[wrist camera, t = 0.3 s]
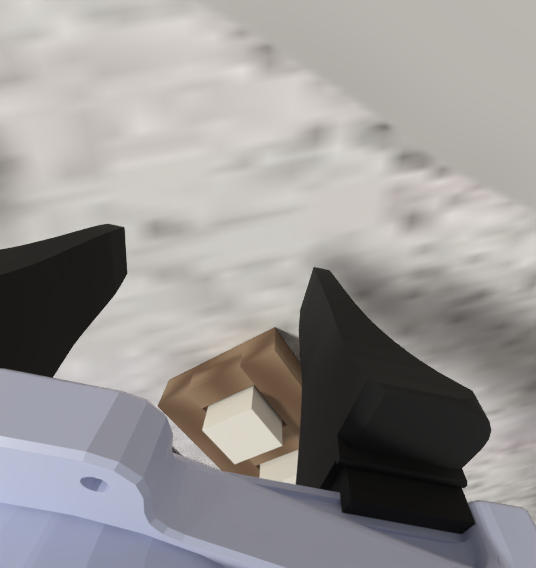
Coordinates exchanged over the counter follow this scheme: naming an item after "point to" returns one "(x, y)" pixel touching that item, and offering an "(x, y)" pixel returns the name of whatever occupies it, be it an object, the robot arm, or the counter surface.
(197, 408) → the brown flat rectangular frame
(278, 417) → the white square block
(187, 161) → the counter surface
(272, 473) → the button middle
